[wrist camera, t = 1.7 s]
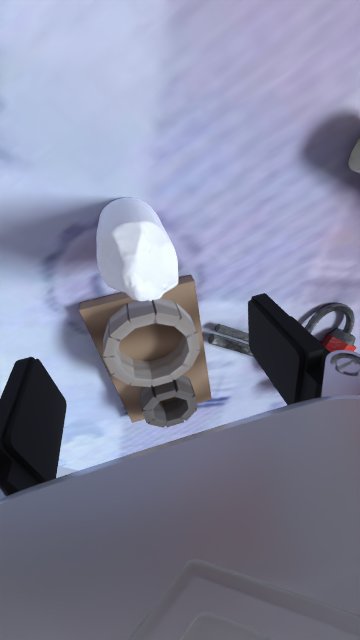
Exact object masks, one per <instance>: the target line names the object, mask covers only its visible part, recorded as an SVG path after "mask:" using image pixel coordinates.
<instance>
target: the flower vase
mask: <svg viewBox="0 0 360 640" xmlns="http://www.w3.org/2000/svg"><path fill="white" fill-rule="evenodd" d="M348 164H349V167H350V169H351V170H352V171H355V172H357V173H360V138H359V140H358V142H357V143H356V145H355V146H354V148H353V150H352V152H351V155H350V159H349V162H348Z"/></svg>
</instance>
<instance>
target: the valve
mask: <svg viewBox="0 0 360 640" xmlns="http://www.w3.org/2000/svg"><path fill="white" fill-rule="evenodd" d="M332 311H342V312H344V314H345V315H346V325H345V327H344V330H341V329H339V328H337V329H335V330H334V331H333V332H332V333H328V334H327V335H326V336H325V338H324V339H323V340H322V341H321V344H322V345H323V346H324V347H325V348H327V349H328V350H329V351H330V352H334V351H337V350H349V351H353V352H354V350H355V349H356V347H355V346H354V341H355V337H354V336H353V335H351V334H350V333H351V331H352V329H353V326H354V314H353V311H352V310H351V308H350V307H348V306H347V305H345V304H341V303H334V304H330V305H327V306H325V307H323V308H322V309H320V310H319V311H317V312H316V313H315V314H314V315H313V317H312V318H311V319H310V320H309V322H308V324H307V325H306V327H305V329H306V330H307V331H308V332H309V333H311V332H312V330H313V329H314V327H315V326H316V324H317V323H318V322H319V320H320V319H321V318H322V317H323V316H325V315H326V314H328V313H330V312H332ZM216 332H219V333H222V334H226V335H229V336H232V337H235V338H238V339H241V340H245V341H248V342H249V334H248V333H245V332H242V331H239V330H236V329H233V328H230V327H227V326H223V325H220V324H218V325H217V326H216ZM208 342H209V343H210V344H213V345H217V346H220V347H223V348H227V349H230V350H234V351H237V352H240V353H244V354H247V355H251V356H253V354H252V353H251V351H250V348H249V345H248V344H245V343H242V342H238V341H235V340H232V339H229V338H226V337H222V336H219V335H216V334H213V333H212V334H210V336H209V338H208Z"/></svg>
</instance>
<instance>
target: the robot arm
mask: <svg viewBox="0 0 360 640" xmlns="http://www.w3.org/2000/svg"><path fill="white" fill-rule="evenodd" d="M248 326H249V348H250V351H251V353H252V354H253V356H254V357H255V359H256V360H257V362H258V363H259V365H260V366H261V367H262V369H263V370H264V372H265V373H266V375H267V376H268V377H269V379H270V380H271V382H272V383H273V385H274V386H275V388H276V389H277V390H278V392H279V393H280V395H281V396H282V398H283V399H284V401H285V402H286V403H287V406H284V407H281V408H277V409H274V410H270V411H267V412H263V413H260V414H257V415H254V416H250V417H247V418H244V419H241V420H238V421H234V422H231V423H228V424H225V425H221V426H218V427H215V428H212V429H209V430H205V431H202V432H199V433H196V434H193V435H190V436H186V437H183V438H180V439H177V440H174V441H170V442H167V443H164V444H161V445H158V446H155V447H152V448H148V449H145V450H142V451H139V452H136V453H133V454H130V455H126V456H123V457H120V458H117V459H114V460H111V461H108V462H105V463H102V464H99V465H95V466H92V467H89V468H86V469H83V470H80V471H77V472H74V473H71V474H68V475H65V476H62V477H59V478H56V473H57V467H58V460H59V454H60V447H61V440H62V434H63V427H64V420H65V413H66V400H65V398H64V397H63V395H62V394H61V392H60V391H59V389H58V388H57V386H56V384H55V383H54V381H53V380H52V378H51V377H50V375H49V374H48V372H47V371H46V369H45V368H44V366H43V365H42V363H41V362H40V360H39V359H34V358H33V357H28V358H25V359H21V360H18V361H16V362H15V364H14V367H13V369H12V372H11V374H10V376H9V379H8V381H7V384H6V386H5V389H4V391H3V393H2V396H1V398H0V640H360V354H358V353H356V352H353V351H349V350H337V351H334V352H330V351H329V350H328V349H327V348H325V347H324V346H323V345H322V344H321V343H320V342H319V341H318V340H317V339H316V338H315V337H314V336H313V335H312V334H310V333H309V332H308V331H307V330H306V329H305V328H304V327H303V326H302V325H301V324H300V323H299V322H298V321H297V320H295V319H294V318H293V317H292V316H289V315H288V314H287V313H286V312H285V311H284V310H282V309H281V308H280V307H279V306H278V305H277V304H276V303H275V302H274V301H273V300H272V299H271V298H270V297H269V296H268V295H267V294H265V293H263V294H260V295H256V296H253V297H252V298H251V300H250V301H249V302H248Z"/></svg>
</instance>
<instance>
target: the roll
mask: <svg viewBox="0 0 360 640" xmlns="http://www.w3.org/2000/svg"><path fill="white" fill-rule="evenodd" d="M96 241H97V264H98V268H99V272H100V274H101V276H102V278H103V280H104V281H105V283H106V284H107V285H108V286H109V287H111V288H114V289H116V290H119V291H121V292H125V293H126V294H127V295H128V296H130V297H131V298H132V299H133V300H138V301H146V300H148V301H152V300H156V299H160V298H161V297H162V295H163V294H164V293H165V292H167V291H169V290H170V289H172V288H174V287H175V286H176V285H177V284H178V261H177V256H176V253H175V249H174V247H173V245H172V243H171V241H170V239H169V237H168V235H167V233H166V231H165V229H164V227H163V225H162V224H161V221H160V219H159V217H158V216H157V214H156V213H155V211H154V210H153V209H152V208H151V207H150V206H149V205H147V204H146V203H145V202H143V201H141V200H139V199H135V198H120V199H116V200H114V201H112V202H111V203H109V204H108V205H106V206H105V207H104V209H103V210H102V212H101V214H100V217H99V223H98V229H97V234H96Z"/></svg>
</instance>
